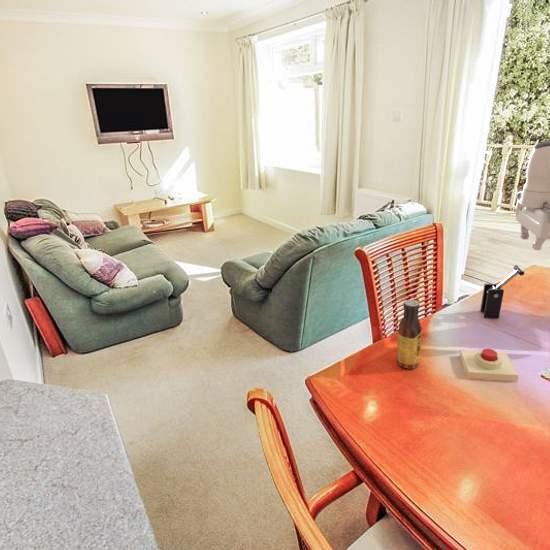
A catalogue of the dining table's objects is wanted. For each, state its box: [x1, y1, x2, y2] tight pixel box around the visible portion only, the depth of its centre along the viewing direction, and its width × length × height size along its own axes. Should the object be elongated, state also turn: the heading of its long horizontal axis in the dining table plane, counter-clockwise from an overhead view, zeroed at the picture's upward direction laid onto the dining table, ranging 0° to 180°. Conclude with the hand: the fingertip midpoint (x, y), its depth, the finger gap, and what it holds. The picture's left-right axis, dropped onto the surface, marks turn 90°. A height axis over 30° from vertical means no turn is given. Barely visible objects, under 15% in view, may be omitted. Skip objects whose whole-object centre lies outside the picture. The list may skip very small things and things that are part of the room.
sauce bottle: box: [396, 299, 423, 370], centre depth 105 cm, size 6×6×20 cm
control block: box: [459, 349, 520, 383], centre depth 103 cm, size 12×10×4 cm
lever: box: [487, 264, 525, 293], centre depth 121 cm, size 12×5×2 cm
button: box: [481, 348, 498, 361], centre depth 102 cm, size 4×4×2 cm
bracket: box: [479, 282, 505, 320], centre depth 125 cm, size 12×9×12 cm
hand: (530, 243), depth 114 cm, fingers open, 8 cm apart
